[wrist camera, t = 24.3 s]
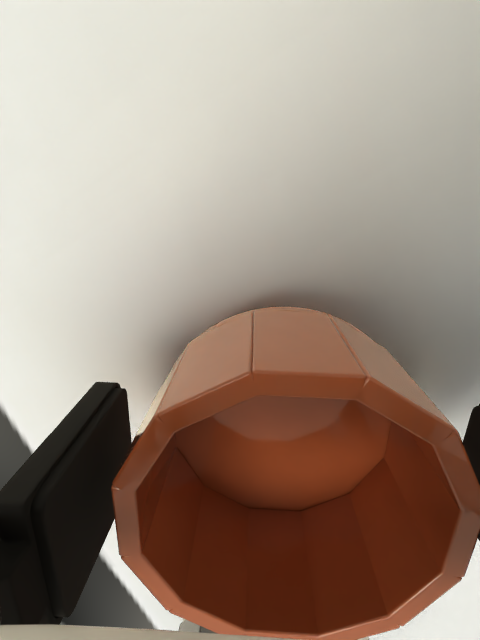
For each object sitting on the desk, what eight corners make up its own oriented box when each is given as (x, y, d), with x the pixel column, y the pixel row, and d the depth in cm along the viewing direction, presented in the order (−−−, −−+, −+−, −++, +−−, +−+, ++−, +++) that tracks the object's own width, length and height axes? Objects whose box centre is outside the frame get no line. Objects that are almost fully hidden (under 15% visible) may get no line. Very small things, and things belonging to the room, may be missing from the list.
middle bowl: (169, 286, 11) (94, 363, 6) (400, 295, 11) (533, 383, 6) (177, 469, 13) (128, 637, 8) (366, 479, 13) (437, 658, 8)
